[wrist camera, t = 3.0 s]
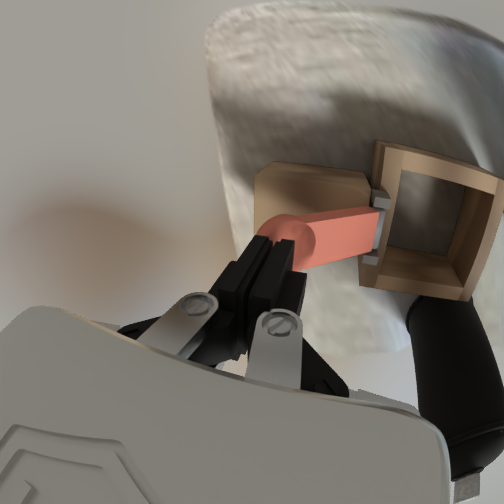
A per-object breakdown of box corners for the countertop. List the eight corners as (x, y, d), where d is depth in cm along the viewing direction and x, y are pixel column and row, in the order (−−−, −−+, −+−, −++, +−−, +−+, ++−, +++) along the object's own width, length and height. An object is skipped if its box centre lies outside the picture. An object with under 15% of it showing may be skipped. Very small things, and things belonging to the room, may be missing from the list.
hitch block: (480, 166, 15) (520, 189, 10) (452, 269, 20) (474, 314, 15) (274, 128, 20) (248, 134, 14) (270, 239, 25) (248, 279, 19)
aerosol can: (391, 329, 25) (386, 517, 9) (435, 270, 21) (485, 486, 4) (442, 348, 24) (455, 508, 8) (485, 297, 20) (535, 469, 3)
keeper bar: (378, 201, 15) (390, 207, 15) (370, 244, 17) (380, 251, 16) (253, 218, 13) (262, 226, 12) (252, 272, 14) (260, 283, 13)
